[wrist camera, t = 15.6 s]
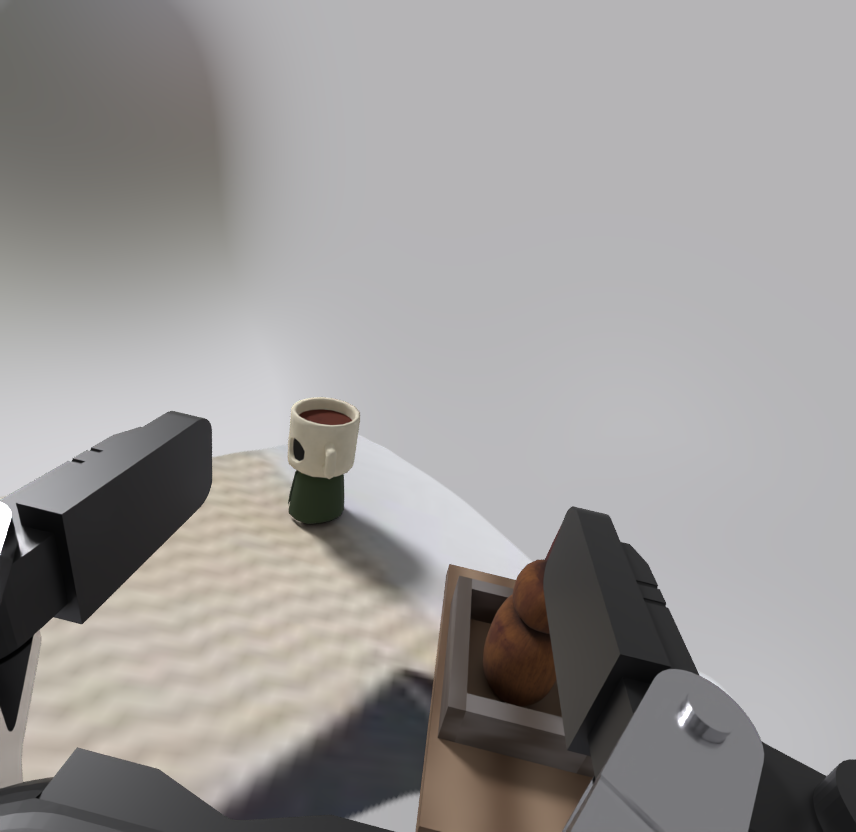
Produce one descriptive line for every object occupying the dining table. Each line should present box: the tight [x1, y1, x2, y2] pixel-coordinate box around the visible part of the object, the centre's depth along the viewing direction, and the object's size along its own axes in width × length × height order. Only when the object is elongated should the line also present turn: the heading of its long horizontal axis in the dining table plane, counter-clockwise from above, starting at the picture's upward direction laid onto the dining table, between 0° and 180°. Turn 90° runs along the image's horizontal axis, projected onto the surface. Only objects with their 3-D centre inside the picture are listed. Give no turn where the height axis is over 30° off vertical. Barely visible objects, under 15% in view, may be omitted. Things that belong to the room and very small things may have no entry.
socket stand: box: [416, 564, 594, 832], centre depth 36 cm, size 12×22×5 cm, turn 173°
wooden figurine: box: [483, 527, 561, 707], centre depth 33 cm, size 7×6×15 cm
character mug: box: [288, 397, 360, 524], centre depth 49 cm, size 11×7×13 cm, turn 19°
